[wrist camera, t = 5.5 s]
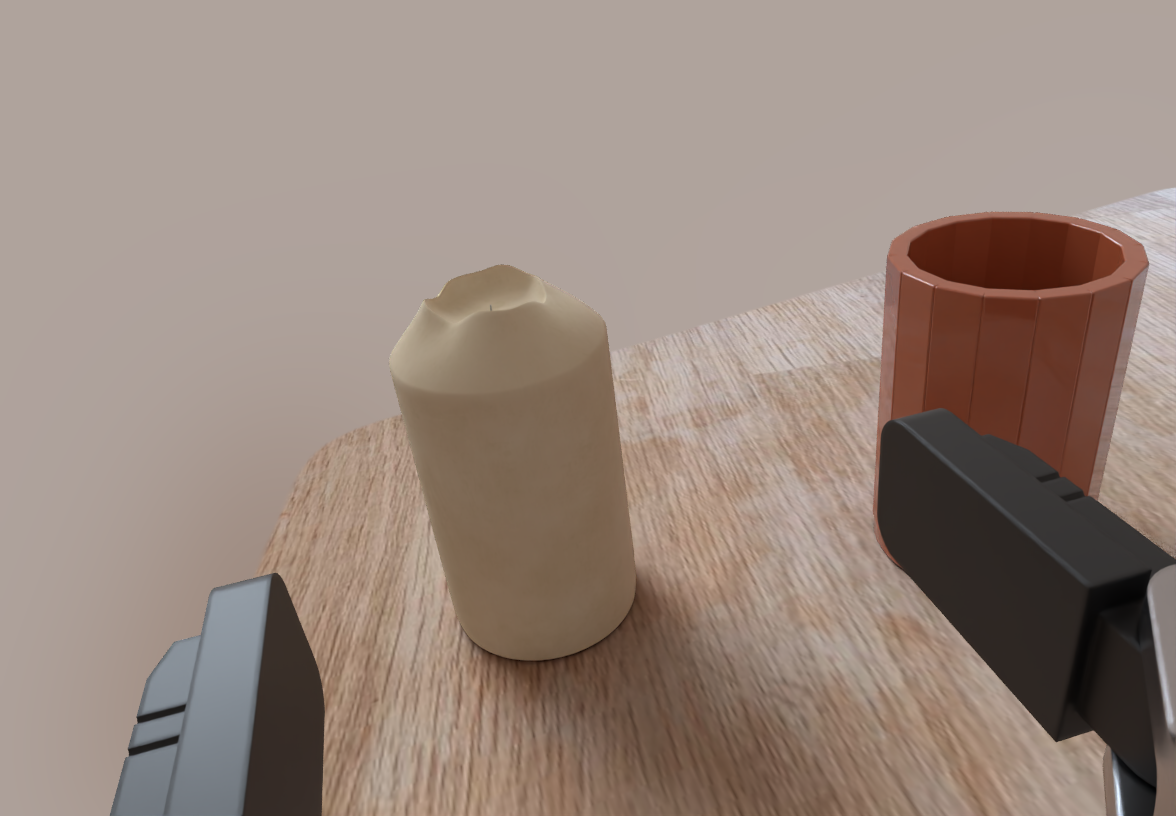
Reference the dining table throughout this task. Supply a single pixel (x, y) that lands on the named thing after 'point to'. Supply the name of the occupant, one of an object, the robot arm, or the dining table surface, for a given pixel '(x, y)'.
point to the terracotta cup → (1013, 332)
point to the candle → (519, 461)
